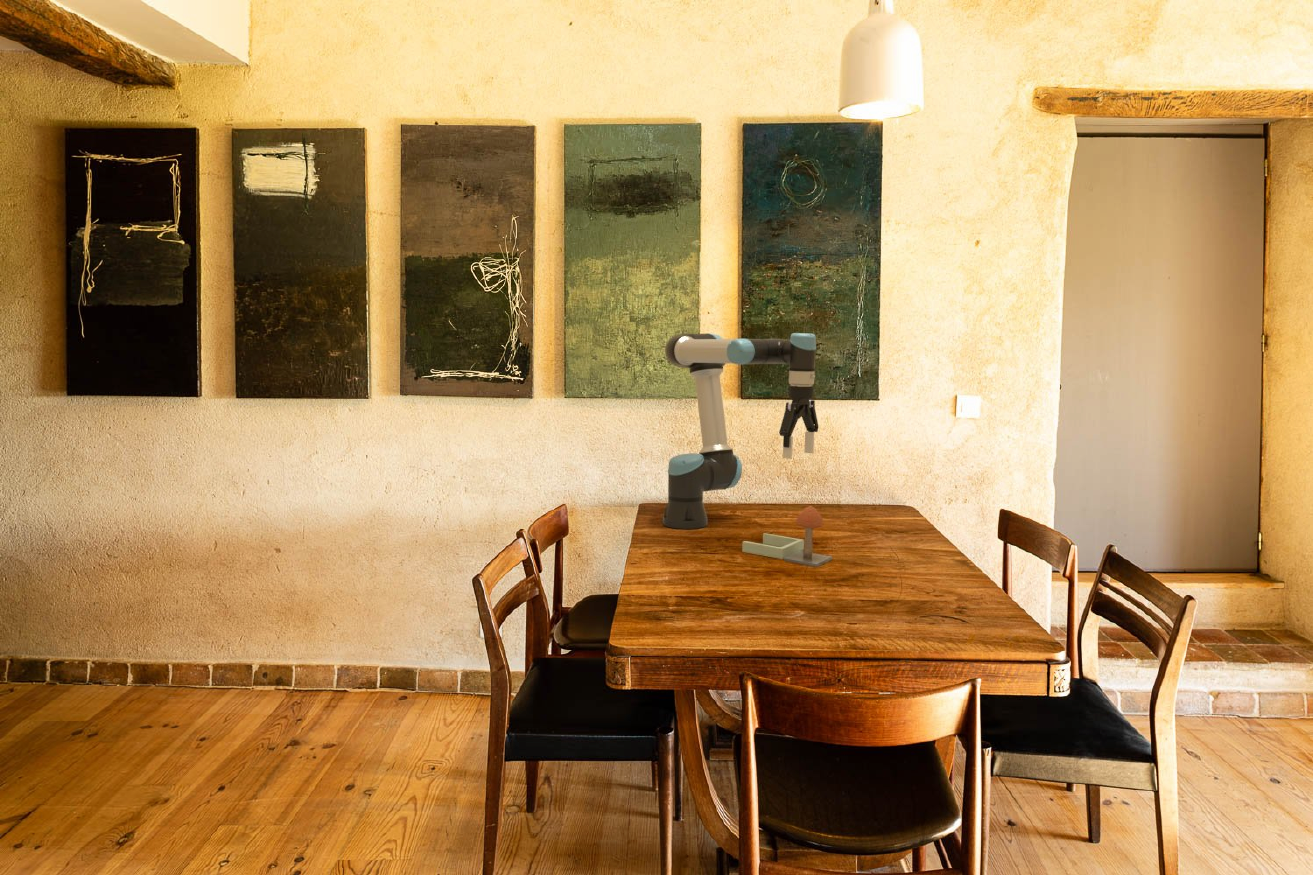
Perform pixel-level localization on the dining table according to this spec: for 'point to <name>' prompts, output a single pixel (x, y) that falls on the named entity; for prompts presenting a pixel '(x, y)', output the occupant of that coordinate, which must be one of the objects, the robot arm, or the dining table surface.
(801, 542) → the cream u-shaped piece
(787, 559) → the coaster
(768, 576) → the dining table surface
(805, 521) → the mushroom
